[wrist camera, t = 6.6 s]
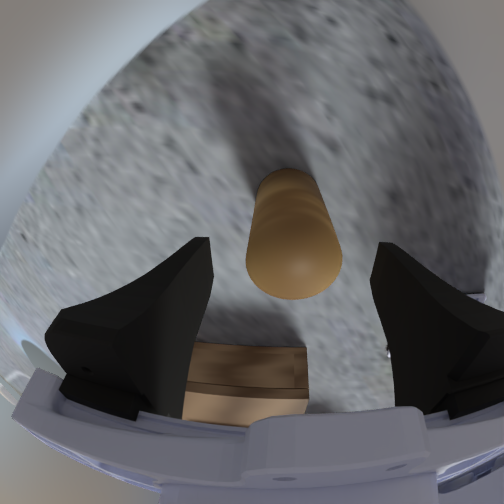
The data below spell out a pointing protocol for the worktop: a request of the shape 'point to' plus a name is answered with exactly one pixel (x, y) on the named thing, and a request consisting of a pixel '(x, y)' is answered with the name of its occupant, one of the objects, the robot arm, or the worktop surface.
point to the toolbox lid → (240, 404)
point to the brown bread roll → (292, 238)
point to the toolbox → (249, 366)
